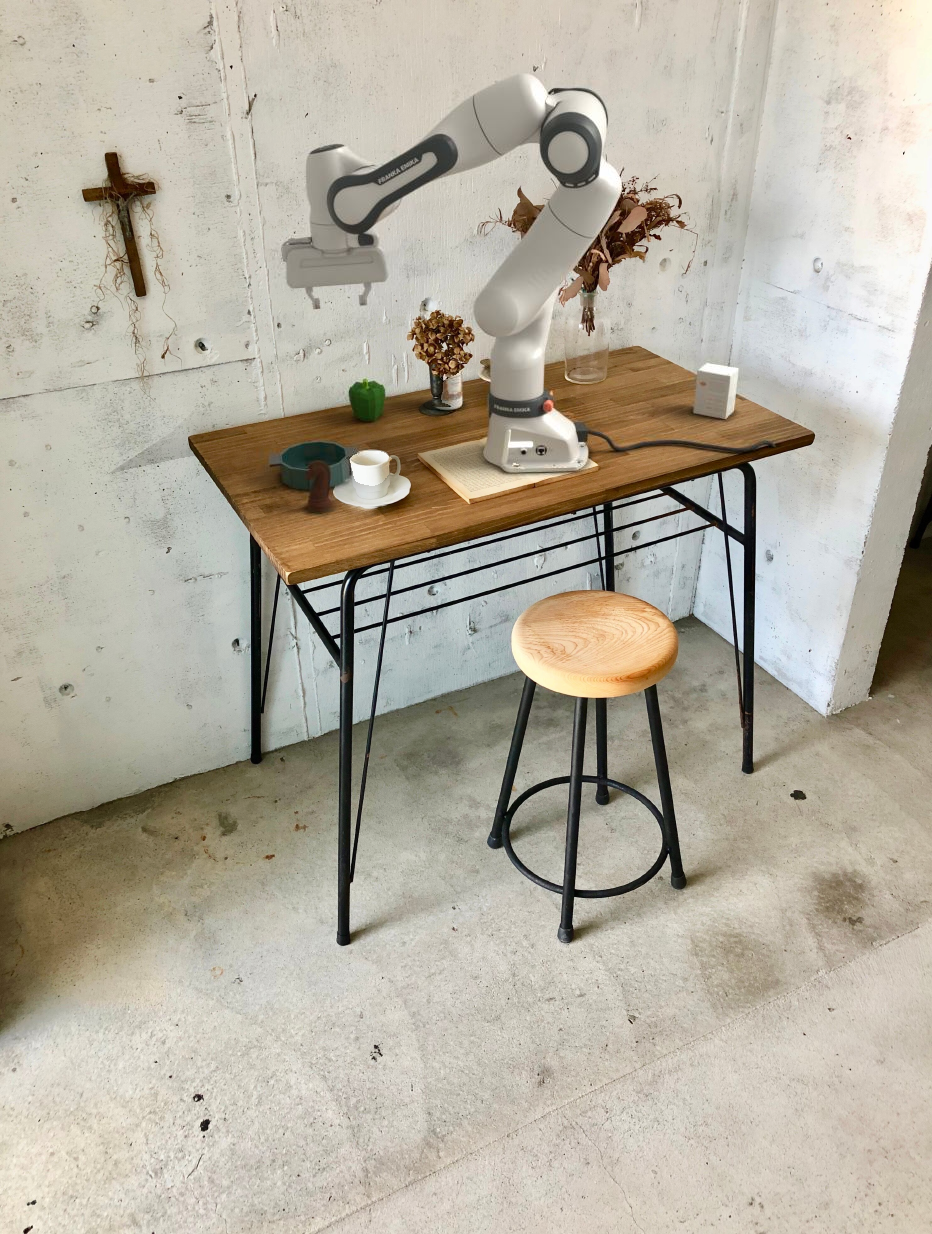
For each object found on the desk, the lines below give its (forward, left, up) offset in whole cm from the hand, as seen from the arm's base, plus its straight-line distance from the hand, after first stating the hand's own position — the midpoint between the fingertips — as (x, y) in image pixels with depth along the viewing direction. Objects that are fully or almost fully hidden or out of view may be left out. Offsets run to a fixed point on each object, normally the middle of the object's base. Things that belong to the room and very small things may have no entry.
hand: (339, 306), depth 206 cm
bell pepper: (+1, -17, -31) cm, 36 cm away
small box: (-78, -31, -31) cm, 90 cm away
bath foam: (-16, -27, -31) cm, 44 cm away
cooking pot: (+4, +14, -31) cm, 34 cm away
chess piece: (-2, +28, -31) cm, 42 cm away
